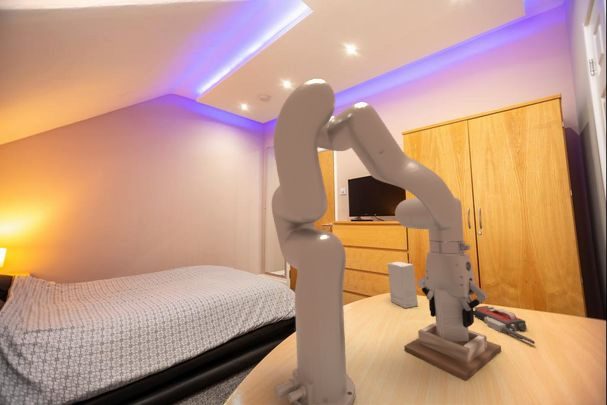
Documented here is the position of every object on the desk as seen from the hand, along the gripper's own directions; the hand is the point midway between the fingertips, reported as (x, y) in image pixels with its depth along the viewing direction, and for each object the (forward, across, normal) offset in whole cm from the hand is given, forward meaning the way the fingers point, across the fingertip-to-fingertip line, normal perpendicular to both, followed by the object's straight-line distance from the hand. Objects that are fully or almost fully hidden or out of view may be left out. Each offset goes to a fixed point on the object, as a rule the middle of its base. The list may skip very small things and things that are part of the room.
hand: (450, 319), depth 62 cm
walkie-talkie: (+8, -3, -24) cm, 25 cm away
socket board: (+7, 0, 0) cm, 7 cm away
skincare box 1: (+8, +26, -18) cm, 33 cm away
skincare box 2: (+4, 0, 0) cm, 4 cm away
